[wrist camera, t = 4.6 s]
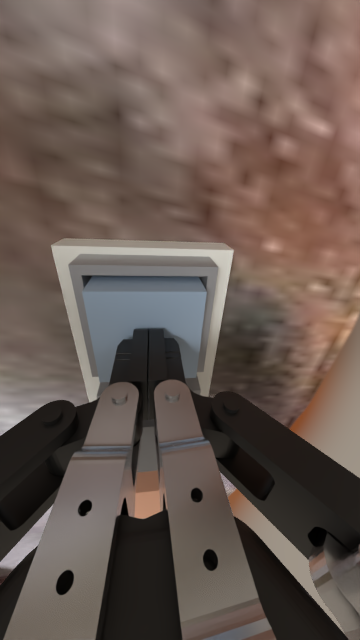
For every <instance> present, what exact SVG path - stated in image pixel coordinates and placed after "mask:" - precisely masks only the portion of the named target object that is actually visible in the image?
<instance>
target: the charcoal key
mask: <svg viewBox="0 0 360 640" xmlns="http://www.w3.org/2000/svg"><path fill="white" fill-rule="evenodd" d="M148 471H157V460H156V449H155V435H154V419H151V420H150V411H149V398H148V420H143V433H142V440H141V449H140V457H139V466H138V472H148Z"/></svg>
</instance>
